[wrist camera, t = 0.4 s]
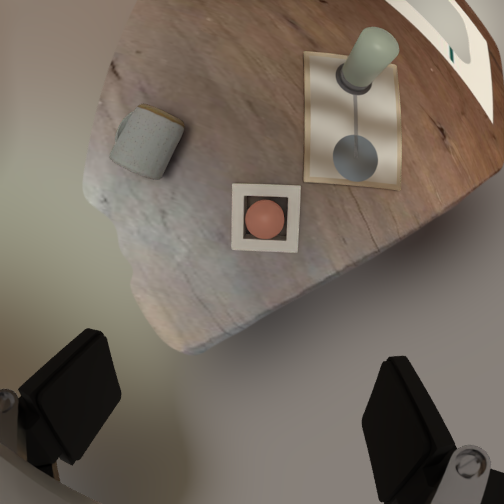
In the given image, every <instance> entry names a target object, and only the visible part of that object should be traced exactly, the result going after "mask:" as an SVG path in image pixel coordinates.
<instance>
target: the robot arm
mask: <svg viewBox="0 0 504 504" xmlns="http://www.w3.org/2000/svg"><path fill="white" fill-rule="evenodd" d="M18 390H19V392H20V394H21V397H20V398H18V396H17V394H16V393H15V392H14V391H12V390H9V389H0V504H102V503H99V502H97V501H95V500H93V499H91V498H89V497H87V496H85V495H83V494H81V493H79V492H77V491H75V490H73V489H71V488H69V487H67V486H66V485H64V484H62V483H61V482H60V478H59V472H58V467H57V461H56V460H57V459H58V457H60V459H61V460H63V461H65V462H66V463H68V464H70V465H73V464H74V463H75V461H76V460H80V459H81V457H82V456H83V454H84V453H85V451H86V450H87V448H88V447H89V445H90V444H91V442H92V441H93V439H94V438H95V436H96V435H97V433H98V432H99V430H100V429H101V427H102V426H103V424H104V423H105V422H106V420H107V419H108V417H109V416H110V414H111V413H112V411H113V410H114V408H115V407H116V405H117V404H118V402H119V401H120V399H121V390H120V386H119V383H118V379H117V376H116V372H115V369H114V365H113V361H112V357H111V353H110V350H109V346H108V342H107V338H106V337H105V336H104V334H103V333H102V332H101V331H98V330H93V329H90V328H87V329H85V330H84V331H83V332H82V333H80V334H79V335H78V336H77V337H76V338H75V339H73V340H72V341H71V342H70V343H69V344H68V345H66V346H65V347H64V348H63V349H62V350H61V351H59V353H57V354H56V355H55V356H54V357H53V358H52V359H50V360H49V361H48V362H47V363H46V364H45V365H44V366H43V367H42V368H40V369H39V370H38V371H37V372H36V373H35V374H34V375H33V376H32V377H30V378H29V379H28V380H27V381H26V382H25V383H24V384H23V385H22V386H21V387H20V388H19V389H18ZM362 428H363V432H364V436H365V440H366V444H367V448H368V453H369V457H370V461H371V465H372V470H373V474H374V479H375V484H376V488H377V493H378V498H379V501H380V502H384V504H504V473H502V472H499V471H496V470H493V469H490V467H491V461H490V458H489V456H488V454H487V453H486V452H485V451H484V450H483V449H482V448H480V447H478V446H474V445H465V446H462V447H460V448H458V449H457V448H456V446H455V443H454V441H453V438H452V436H451V434H450V433H449V431H448V429H447V427H446V425H445V423H444V421H443V419H442V417H441V415H440V414H439V412H438V410H437V408H436V406H435V404H434V403H433V401H432V399H431V397H430V396H429V394H428V392H427V390H426V389H425V387H424V385H423V383H422V382H421V380H420V378H419V377H418V375H417V373H416V372H415V370H414V368H413V367H412V365H411V363H410V362H409V360H408V358H407V357H406V356H394V357H389V358H388V359H387V361H384V362H383V363H382V365H381V368H380V371H379V374H378V377H377V380H376V382H375V385H374V388H373V391H372V394H371V397H370V399H369V402H368V404H367V407H366V410H365V412H364V414H363V417H362Z"/></svg>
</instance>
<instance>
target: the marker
mask: <svg viewBox="0 0 504 504" xmlns="http://www.w3.org/2000/svg"><path fill="white" fill-rule="evenodd" d="M398 53H399V46H398V43H397V41H396V39H395V38H394V37H393V36H392V35H391V34H390V33H389V32H387V31H386V30H384V29H381V28H378V27H368V28H366V29H364V30H363V31H362V33H361V34H360V36H359V38H358V40H357V42H356V43H355V45H354V47H353V49H352V51H351V53H350V54H349V56H348V58H347V60H346V62H345V63H344V65H343V67H342V69H341V71H340V74H339V77H340V81H341V83H342V84H343V85H344V86H345V87H346V88H347V89H349V90H351V91H355V92H360V91H363V90H365V89H366V88H367V87H368V86H369V85H370V84H371V82H372V81H373V80H374V79H375V78H376V77H377V76H378V75H379V74H380V73H381V72H382V71H383V70H384V69H385V68H386V67H387V66H388V65H389V64H390V63H391V62H392V61H393V60H394V58H395V57H396V56H397V55H398Z"/></svg>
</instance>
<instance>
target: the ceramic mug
mask: <svg viewBox="0 0 504 504" xmlns="http://www.w3.org/2000/svg"><path fill="white" fill-rule="evenodd" d="M184 127H185V126H184V123H183V122H182V121H181V120H180V119H178V118H176V117H174V116H172V115H170V114H168V113H166V112H164V111H162V110H160V109H158V108H156V107H153V106H150V105H147V104H141V105H139V106H138V107H137V108H136V109H135V110H134V112H131V113H129V114H128V115H127V116H126V117H125V118H124V119H123V120H122V122H121V124H120V125H119V127H118V130H117V132H116V137H115V142H116V143H115V145H114V147H113V149H112V151H111V153H110V156H109V158H110V159H111V160H112V161H113V162H114V163H116V164H118V165H119V166H121V167H123V168H125V169H127V170H129V171H131V172H133V173H136V174H138V175H141V176H144V177H147V178H150V179H156V180H159V179H161V178H162V175H163V173H164V171H165V169H166V167H167V165H168V163H169V161H170V158H171V156H172V154H173V152H174V150H175V148H176V146H177V144H178V142H179V141H180V138H181V136H182V134H183V131H184Z"/></svg>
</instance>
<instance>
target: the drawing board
mask: <svg viewBox="0 0 504 504" xmlns="http://www.w3.org/2000/svg"><path fill="white" fill-rule="evenodd" d="M347 58H348V56H345V55H338V54H329V53H320V52H308V51H304V54H303V61H304V168H303V182H314V183H329V184H342V185H353V186H364V187H374V188H383V189H392V190H400V191H401V167H402V133H401V109H400V94H399V83H398V74H397V65H394V64H389V65H388V66H387V67H386V68H385V69H384V70H383V71H382V72H381V73H380V74H379V75H378V76H377V77H376V78H375V79H374V80H373V81H372V82H371V84H370V85H369V86H368V87H367V88H366V89H365V90H363V91H360V92H355V91H351V90H349V89H347V88H346V87H345V86H344V85H343V84H342V83H341V81H340V77H339V74H340V71H341V69H342V67H343V65H344V63H345V62H346V60H347Z"/></svg>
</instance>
